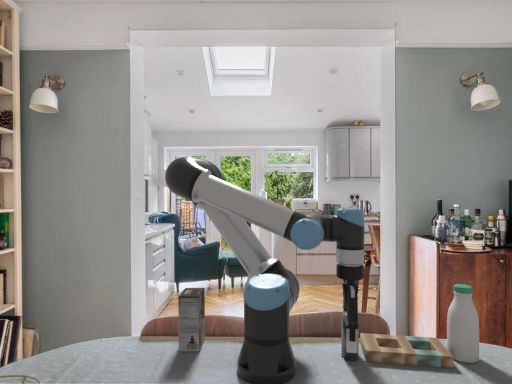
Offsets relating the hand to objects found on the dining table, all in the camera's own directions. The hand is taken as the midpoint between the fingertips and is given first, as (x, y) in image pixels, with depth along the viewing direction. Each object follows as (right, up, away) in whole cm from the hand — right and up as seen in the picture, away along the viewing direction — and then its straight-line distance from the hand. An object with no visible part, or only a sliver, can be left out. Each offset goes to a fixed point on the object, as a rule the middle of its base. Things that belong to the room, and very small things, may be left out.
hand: (349, 344), depth 98 cm
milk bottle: (+31, -4, 0) cm, 32 cm away
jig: (+15, -4, +2) cm, 16 cm away
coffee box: (-45, -4, +8) cm, 46 cm away
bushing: (0, -4, 0) cm, 4 cm away
